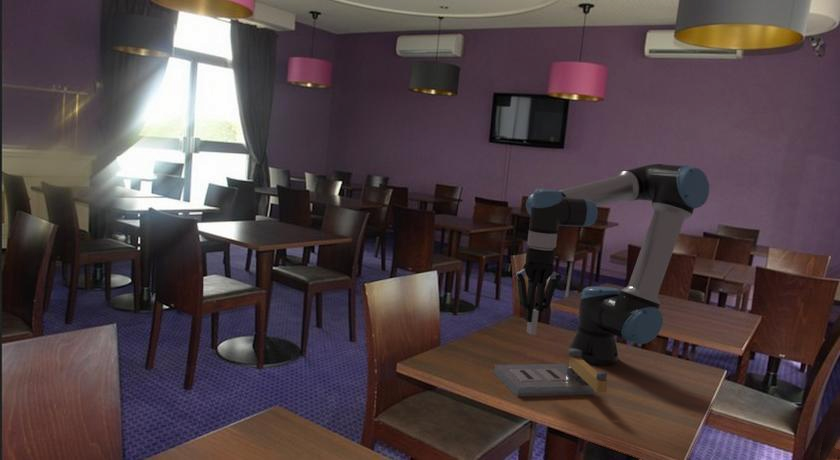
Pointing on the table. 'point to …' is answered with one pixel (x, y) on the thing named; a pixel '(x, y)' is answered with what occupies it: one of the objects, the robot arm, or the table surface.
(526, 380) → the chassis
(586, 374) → the yellow wooden bar
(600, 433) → the table surface
